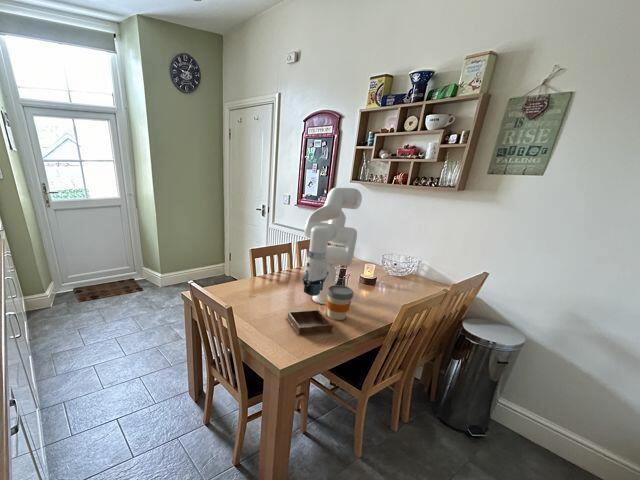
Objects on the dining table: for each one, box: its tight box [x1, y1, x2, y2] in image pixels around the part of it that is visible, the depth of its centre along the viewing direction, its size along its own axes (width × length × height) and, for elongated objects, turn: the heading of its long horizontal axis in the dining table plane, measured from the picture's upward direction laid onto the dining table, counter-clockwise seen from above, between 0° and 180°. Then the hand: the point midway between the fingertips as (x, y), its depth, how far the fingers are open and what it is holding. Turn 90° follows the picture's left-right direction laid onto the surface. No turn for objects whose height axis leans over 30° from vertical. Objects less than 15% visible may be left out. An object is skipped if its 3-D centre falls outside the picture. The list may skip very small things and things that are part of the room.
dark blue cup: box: [307, 280, 322, 297], centre depth 152 cm, size 7×7×6 cm
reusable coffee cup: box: [326, 284, 354, 321], centre depth 166 cm, size 13×13×15 cm
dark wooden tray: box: [287, 309, 333, 335], centre depth 159 cm, size 16×16×4 cm
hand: (313, 291), depth 152 cm, fingers closed on dark blue cup, 7 cm apart
